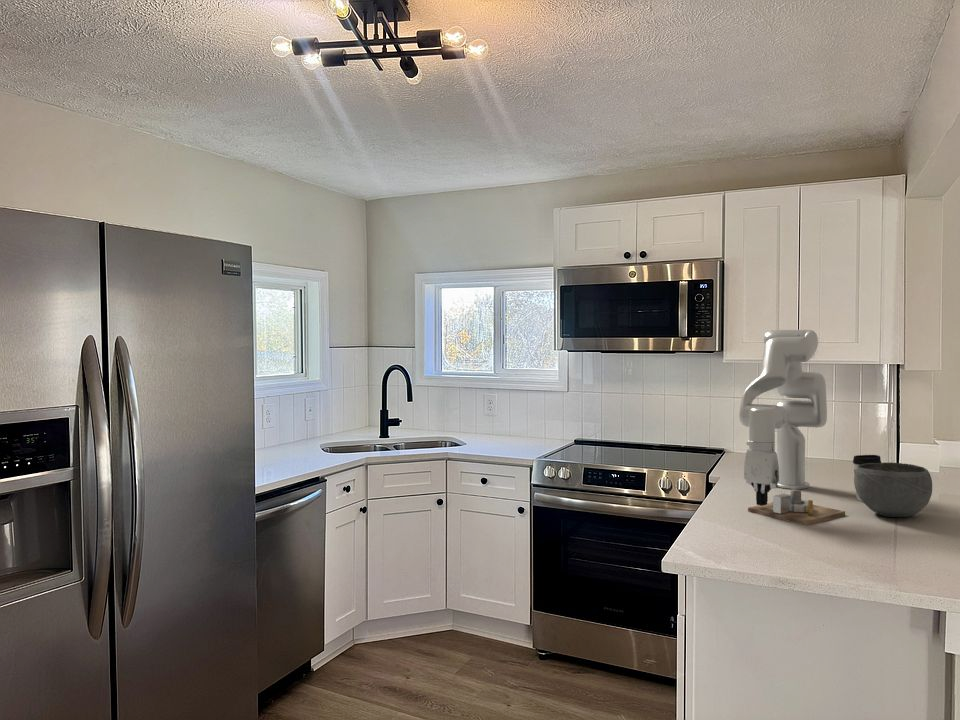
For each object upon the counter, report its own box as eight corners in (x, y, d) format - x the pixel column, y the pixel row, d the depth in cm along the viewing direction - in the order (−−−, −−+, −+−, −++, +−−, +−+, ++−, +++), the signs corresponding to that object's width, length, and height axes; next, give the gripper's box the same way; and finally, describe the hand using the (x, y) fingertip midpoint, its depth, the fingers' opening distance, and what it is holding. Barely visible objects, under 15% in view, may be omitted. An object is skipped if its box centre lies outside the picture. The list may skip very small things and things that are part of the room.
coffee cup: (885, 503, 232) (885, 458, 232) (857, 502, 234) (857, 457, 233) (876, 497, 240) (876, 453, 240) (849, 496, 242) (849, 453, 242)
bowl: (922, 509, 224) (922, 462, 223) (941, 526, 204) (942, 474, 204) (848, 504, 231) (848, 459, 230) (860, 521, 211) (860, 471, 210)
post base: (747, 511, 224) (747, 488, 223) (786, 502, 234) (786, 481, 234) (806, 525, 207) (806, 500, 207) (845, 515, 218) (845, 492, 217)
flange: (763, 509, 219) (763, 493, 219) (791, 503, 227) (791, 488, 227) (790, 516, 212) (790, 499, 211) (818, 509, 219) (818, 493, 219)
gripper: (734, 444, 227) (734, 501, 227) (775, 450, 214) (775, 511, 215) (749, 442, 231) (749, 498, 231) (790, 448, 218) (790, 507, 219)
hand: (761, 504), depth 223 cm, fingers closed
